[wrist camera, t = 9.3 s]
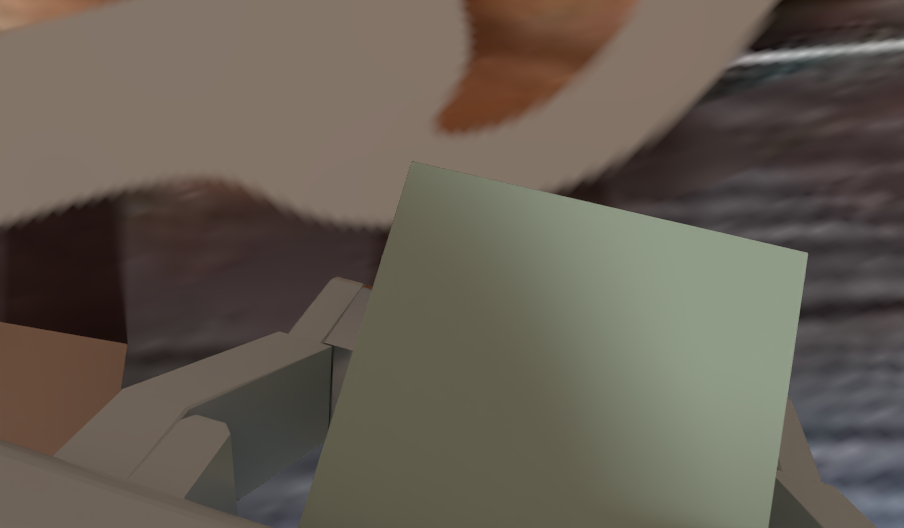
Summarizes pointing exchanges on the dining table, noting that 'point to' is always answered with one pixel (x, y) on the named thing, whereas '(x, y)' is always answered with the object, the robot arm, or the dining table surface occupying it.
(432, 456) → the sage block
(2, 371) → the terracotta block
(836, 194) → the dining table surface
